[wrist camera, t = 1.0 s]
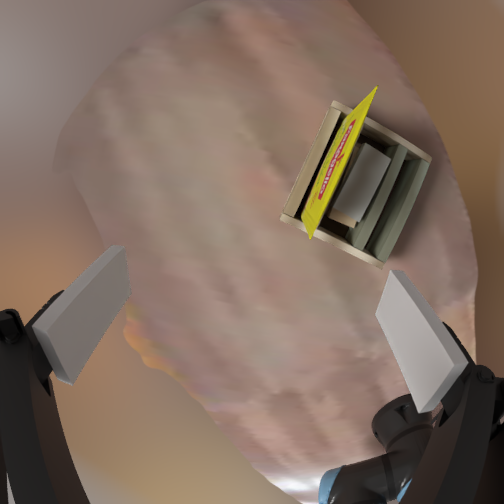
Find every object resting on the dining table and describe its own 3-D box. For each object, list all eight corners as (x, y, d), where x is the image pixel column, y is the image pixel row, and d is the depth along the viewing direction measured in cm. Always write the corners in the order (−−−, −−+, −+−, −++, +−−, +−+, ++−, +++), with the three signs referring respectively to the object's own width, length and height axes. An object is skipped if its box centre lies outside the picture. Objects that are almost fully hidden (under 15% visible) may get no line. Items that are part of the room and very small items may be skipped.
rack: (415, 159, 38) (432, 157, 32) (370, 258, 43) (381, 269, 37) (327, 110, 38) (333, 100, 32) (280, 214, 43) (279, 220, 37)
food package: (335, 123, 38) (373, 82, 19) (341, 126, 38) (384, 88, 19) (295, 211, 43) (304, 237, 23) (302, 214, 43) (316, 243, 23)
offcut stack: (378, 157, 39) (393, 154, 33) (348, 226, 42) (357, 233, 36) (351, 142, 39) (362, 137, 33) (320, 212, 42) (326, 217, 36)
